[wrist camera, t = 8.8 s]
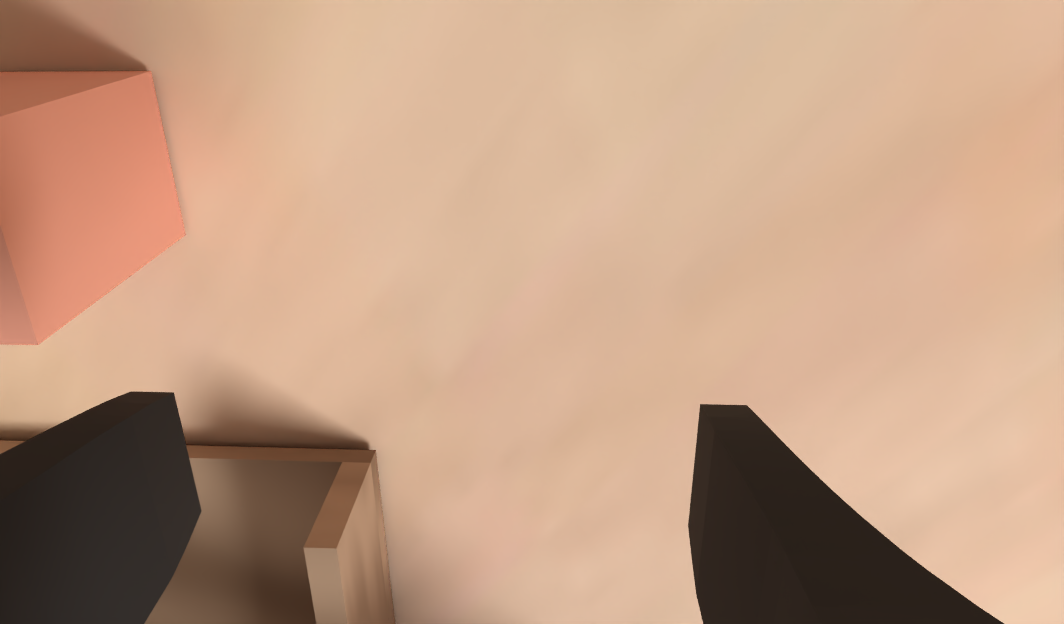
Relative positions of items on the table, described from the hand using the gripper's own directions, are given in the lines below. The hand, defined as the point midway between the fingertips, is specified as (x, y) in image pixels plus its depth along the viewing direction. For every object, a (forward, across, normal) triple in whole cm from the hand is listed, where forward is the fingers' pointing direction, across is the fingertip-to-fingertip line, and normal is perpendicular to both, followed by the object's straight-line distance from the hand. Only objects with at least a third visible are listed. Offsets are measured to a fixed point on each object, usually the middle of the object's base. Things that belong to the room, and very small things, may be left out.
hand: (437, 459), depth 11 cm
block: (+10, +10, -2) cm, 14 cm away
